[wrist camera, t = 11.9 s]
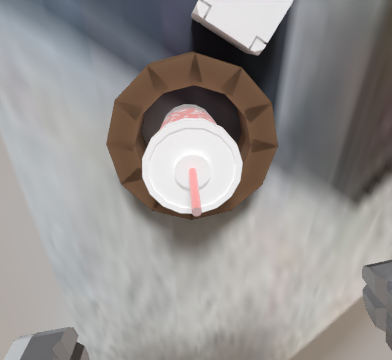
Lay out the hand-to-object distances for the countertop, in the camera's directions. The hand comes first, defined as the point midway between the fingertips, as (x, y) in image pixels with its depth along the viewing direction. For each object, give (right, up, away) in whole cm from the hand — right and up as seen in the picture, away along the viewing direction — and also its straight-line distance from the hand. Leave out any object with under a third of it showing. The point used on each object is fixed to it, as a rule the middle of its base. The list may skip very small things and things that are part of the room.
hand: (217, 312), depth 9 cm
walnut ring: (-1, +8, +18) cm, 20 cm away
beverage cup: (-1, +8, +19) cm, 20 cm away
